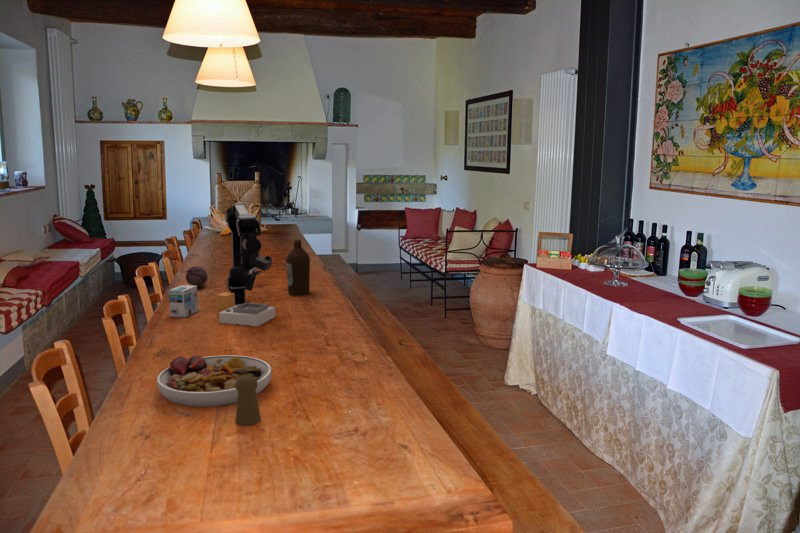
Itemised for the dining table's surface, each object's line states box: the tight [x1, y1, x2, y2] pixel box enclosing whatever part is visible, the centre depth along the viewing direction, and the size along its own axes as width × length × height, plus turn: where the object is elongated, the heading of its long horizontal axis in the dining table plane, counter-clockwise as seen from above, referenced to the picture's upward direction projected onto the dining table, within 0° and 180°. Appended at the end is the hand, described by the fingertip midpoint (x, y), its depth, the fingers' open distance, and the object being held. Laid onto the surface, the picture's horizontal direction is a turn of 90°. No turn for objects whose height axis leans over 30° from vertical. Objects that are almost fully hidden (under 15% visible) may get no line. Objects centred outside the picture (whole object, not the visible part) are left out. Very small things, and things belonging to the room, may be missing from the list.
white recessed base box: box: [218, 302, 276, 327], centre depth 246 cm, size 14×16×6 cm
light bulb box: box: [168, 284, 199, 318], centre depth 255 cm, size 11×7×11 cm, turn 168°
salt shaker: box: [234, 376, 262, 427], centre depth 155 cm, size 6×6×11 cm
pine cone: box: [185, 265, 209, 287], centre depth 303 cm, size 18×10×10 cm, turn 21°
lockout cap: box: [216, 292, 235, 316], centre depth 255 cm, size 5×5×8 cm
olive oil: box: [285, 238, 311, 297], centre depth 289 cm, size 11×11×25 cm
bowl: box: [156, 354, 272, 408], centre depth 176 cm, size 30×30×8 cm
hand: (250, 290), depth 244 cm, fingers closed
